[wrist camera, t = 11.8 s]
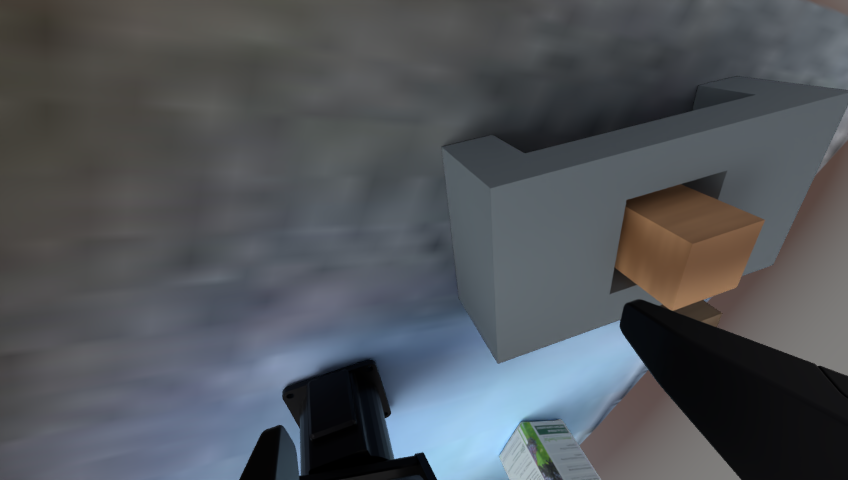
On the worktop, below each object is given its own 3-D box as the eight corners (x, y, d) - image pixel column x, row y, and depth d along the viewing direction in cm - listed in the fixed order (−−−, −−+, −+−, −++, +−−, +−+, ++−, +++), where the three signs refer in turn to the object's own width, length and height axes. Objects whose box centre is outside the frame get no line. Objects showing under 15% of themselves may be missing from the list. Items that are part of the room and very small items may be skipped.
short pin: (658, 309, 34) (707, 348, 30) (621, 322, 34) (666, 365, 29) (667, 275, 32) (722, 313, 28) (627, 289, 31) (678, 330, 27)
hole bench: (692, 223, 30) (773, 264, 25) (458, 298, 26) (497, 363, 21) (736, 76, 24) (854, 90, 19) (441, 146, 20) (490, 188, 15)
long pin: (611, 211, 26) (736, 287, 19) (561, 227, 26) (671, 311, 18) (620, 158, 24) (765, 220, 17) (566, 173, 23) (692, 244, 16)
